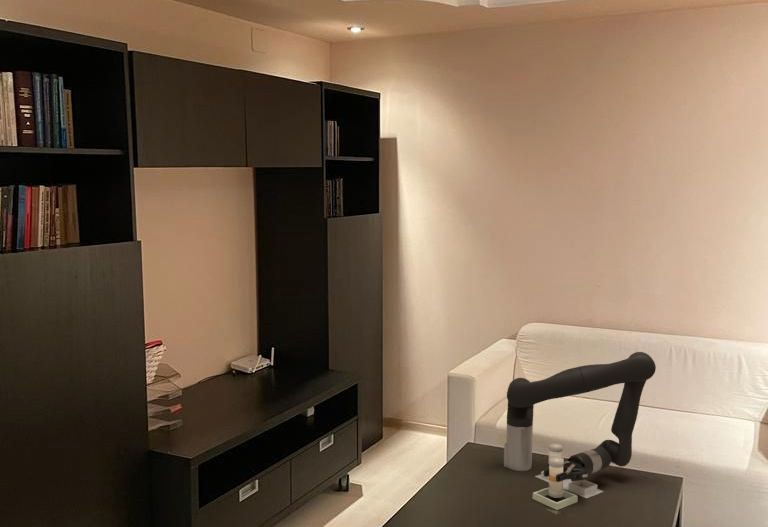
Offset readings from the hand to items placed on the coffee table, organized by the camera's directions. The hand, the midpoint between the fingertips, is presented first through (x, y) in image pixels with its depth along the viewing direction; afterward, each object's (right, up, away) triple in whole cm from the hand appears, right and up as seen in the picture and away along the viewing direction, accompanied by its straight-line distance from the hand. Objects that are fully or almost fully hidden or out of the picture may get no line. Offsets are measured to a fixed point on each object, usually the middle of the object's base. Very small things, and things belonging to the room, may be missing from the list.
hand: (550, 475), depth 231 cm
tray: (+2, -10, +3) cm, 11 cm away
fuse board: (+10, -9, +16) cm, 20 cm away
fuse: (+6, -7, +20) cm, 22 cm away
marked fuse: (+2, -7, +2) cm, 8 cm away
